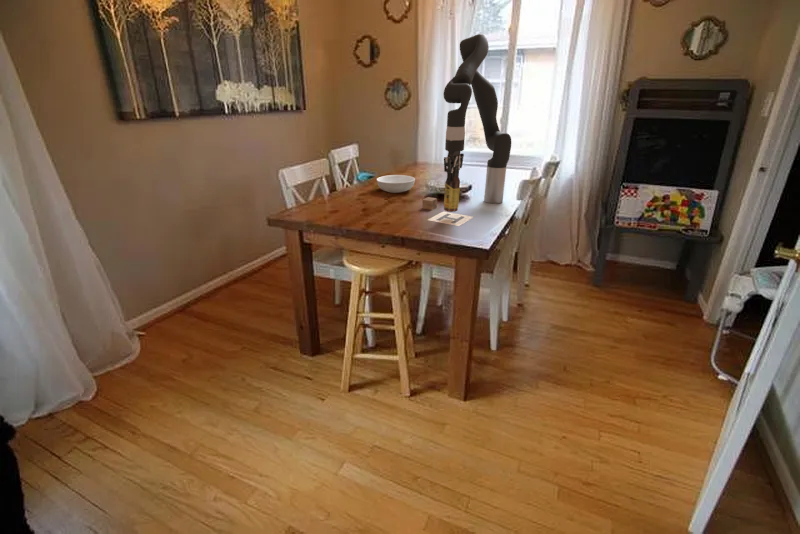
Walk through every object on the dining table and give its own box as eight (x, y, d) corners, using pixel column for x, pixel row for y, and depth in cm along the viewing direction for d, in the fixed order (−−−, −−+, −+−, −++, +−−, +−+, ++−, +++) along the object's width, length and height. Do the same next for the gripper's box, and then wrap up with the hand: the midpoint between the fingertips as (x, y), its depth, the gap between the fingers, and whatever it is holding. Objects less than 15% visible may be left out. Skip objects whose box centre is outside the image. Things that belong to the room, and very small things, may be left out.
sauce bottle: (442, 208, 175) (444, 162, 166) (456, 208, 175) (459, 162, 167) (445, 212, 169) (447, 165, 160) (459, 212, 169) (462, 165, 161)
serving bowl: (391, 184, 234) (391, 173, 231) (421, 190, 222) (422, 177, 220) (369, 192, 218) (368, 179, 215) (400, 197, 207) (400, 184, 204)
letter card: (443, 212, 183) (443, 211, 183) (473, 218, 175) (473, 216, 175) (427, 221, 171) (427, 219, 171) (459, 227, 164) (459, 226, 164)
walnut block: (427, 207, 191) (427, 197, 189) (436, 208, 189) (437, 198, 187) (422, 209, 187) (422, 199, 185) (431, 211, 185) (432, 201, 183)
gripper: (454, 135, 167) (452, 176, 174) (438, 139, 156) (436, 182, 163) (471, 137, 163) (468, 178, 170) (455, 140, 152) (453, 185, 159)
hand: (452, 180), depth 166 cm, fingers closed on sauce bottle, 5 cm apart
